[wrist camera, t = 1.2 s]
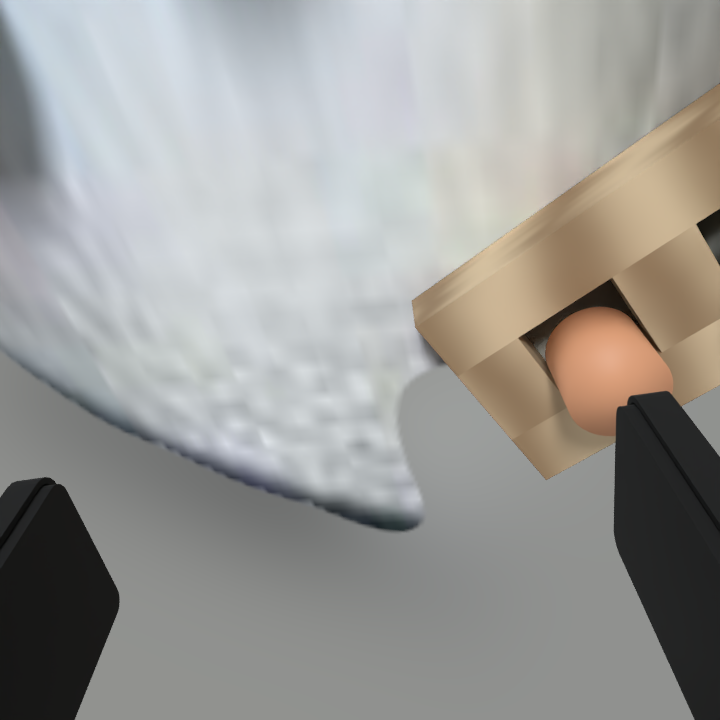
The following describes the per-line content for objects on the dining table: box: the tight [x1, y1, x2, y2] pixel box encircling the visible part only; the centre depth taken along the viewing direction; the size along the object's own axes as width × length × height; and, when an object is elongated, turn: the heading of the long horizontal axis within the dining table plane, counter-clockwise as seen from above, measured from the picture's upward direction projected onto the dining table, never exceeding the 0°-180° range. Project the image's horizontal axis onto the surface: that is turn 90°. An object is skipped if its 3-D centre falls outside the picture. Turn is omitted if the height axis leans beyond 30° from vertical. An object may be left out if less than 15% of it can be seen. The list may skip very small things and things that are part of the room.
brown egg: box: [545, 307, 673, 436], centre depth 29 cm, size 4×4×4 cm
